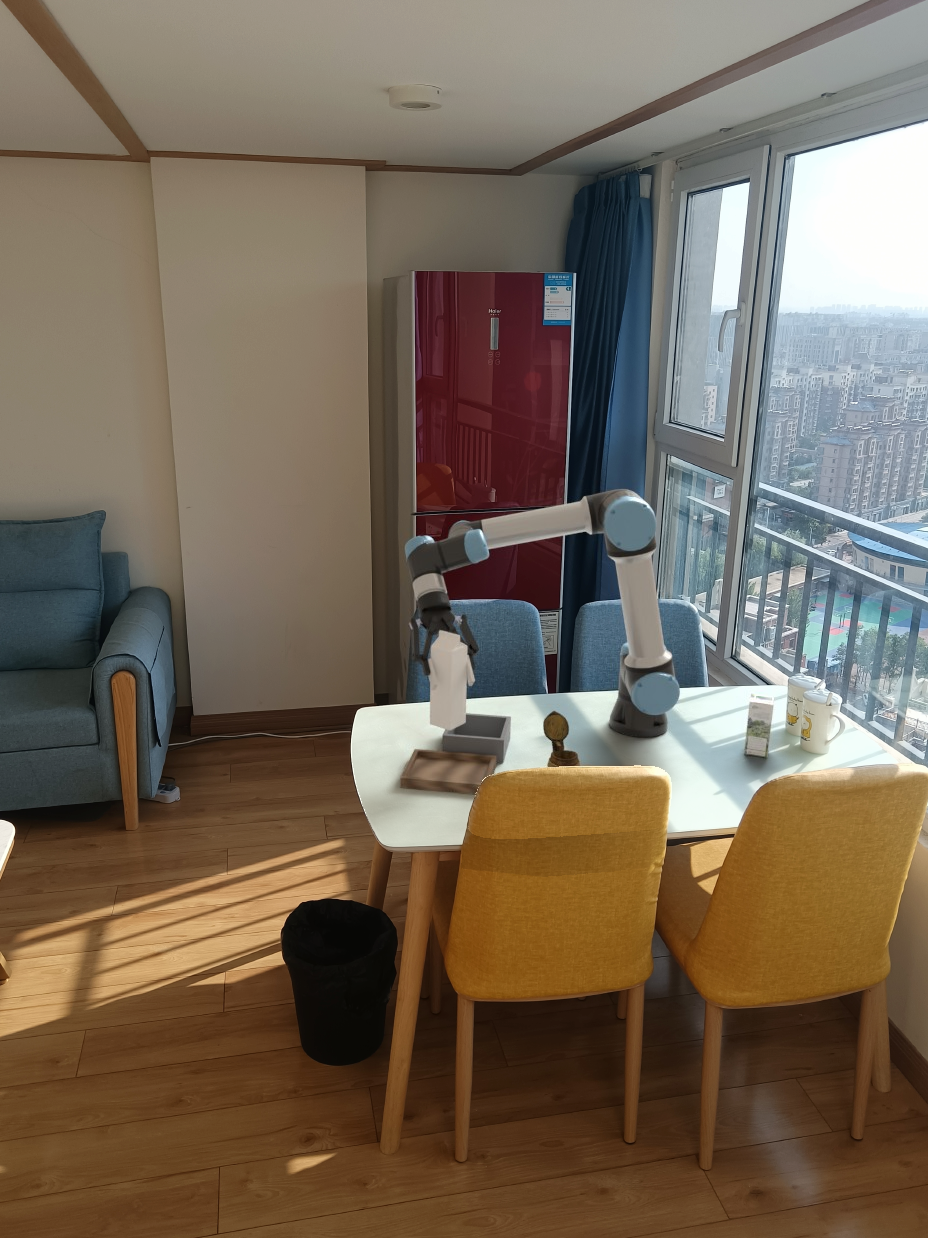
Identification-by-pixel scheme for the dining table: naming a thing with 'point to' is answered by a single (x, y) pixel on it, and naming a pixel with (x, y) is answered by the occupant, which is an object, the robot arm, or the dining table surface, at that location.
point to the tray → (447, 771)
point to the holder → (480, 736)
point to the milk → (449, 681)
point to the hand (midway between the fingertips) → (453, 685)
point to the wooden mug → (559, 741)
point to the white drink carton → (759, 725)
